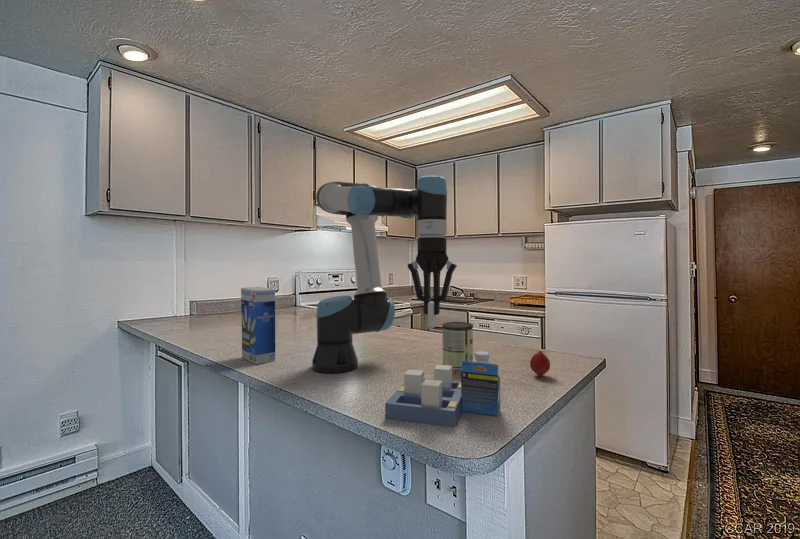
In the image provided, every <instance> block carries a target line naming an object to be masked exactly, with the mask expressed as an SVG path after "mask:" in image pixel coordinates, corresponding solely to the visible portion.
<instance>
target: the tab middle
mask: <svg viewBox="0 0 800 539" xmlns="http://www.w3.org/2000/svg"><path fill="white" fill-rule="evenodd" d="M403 376H404V377H403V378H404V379H403V380H404V381H403V384H404V393H410V394H419V395H421V385H422V383H423V382H424V379H425V370H419V369H418V370H417V369H408V370H406V372H405V373H404V375H403Z"/></svg>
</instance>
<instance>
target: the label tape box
mask: <svg viewBox="0 0 800 539" xmlns="http://www.w3.org/2000/svg"><path fill="white" fill-rule="evenodd" d="M478 366H480V367H481V368H485V371H481V370H474V369H473V367H478ZM460 379H461V380H460V382H461V412H465V413H472V414H480V415H481V414H482V415H488V416H494V417H499V414H500V411H501V377H500V376H499V364H497V363H496V364H495V363H492V364H486V363H478V362H469V361H462V368H461V370H460Z"/></svg>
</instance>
